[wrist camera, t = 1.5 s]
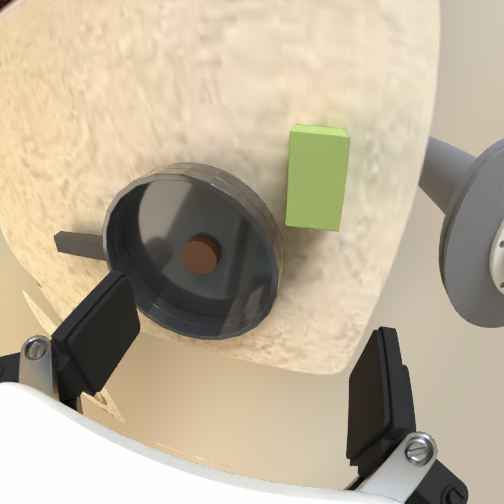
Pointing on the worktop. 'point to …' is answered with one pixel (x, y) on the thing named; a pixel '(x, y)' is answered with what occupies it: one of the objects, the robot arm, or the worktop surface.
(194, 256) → the brown disc
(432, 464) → the robot arm
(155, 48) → the worktop surface
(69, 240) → the pan handle
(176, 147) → the worktop surface
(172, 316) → the pan
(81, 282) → the worktop surface
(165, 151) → the worktop surface
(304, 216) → the sponge
